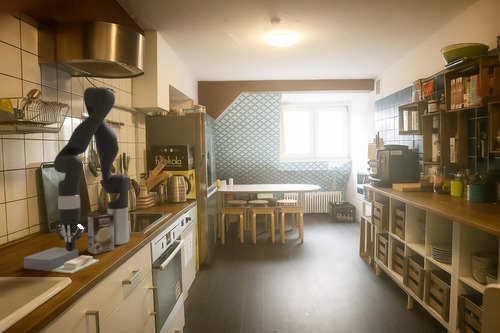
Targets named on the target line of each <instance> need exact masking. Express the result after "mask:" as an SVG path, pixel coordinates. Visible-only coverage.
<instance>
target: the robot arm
mask: <svg viewBox="0 0 500 333" xmlns="http://www.w3.org/2000/svg"><path fill="white" fill-rule="evenodd" d="M83 101H84V105H85V106H84V107H85V109H86V113H87V115H88V117H86V119H84V120H83V121H82V122H80V123H79V124H78V125H77V126H76V128H75V129H73V132H72V134H71V135H70V138H69V139H68V142H67V144H66V145H64V146H63V148H62V149H61V150H60V151H59V152H58V154H57V155H55V158H54V161H53V168H54V170H55V171H56V172H57V173H60V174H65V175H64V178H63V179H62V180H60V181H59V182H58V185H57V188H58V199H57V211H58V212H57V215H58V217H57V218H58V220H59V222H58V223H59V224H58V225H57V226H55V227H54V230H55V231H56V233H57V235H58V237H59V238H60V240H62V241H64V242H65V248H66V249H67V251H69V252H71V251H74V249H76V241H79V240H80V239H81V237H82V235H83V234H84V233H85V231H86V227H84V226H82V225H81V221H80V219H81V216H82V215H81V211H82V210H81V197H80V182H81V179H82V175H83V171H84V163H83V160H82V158H81V157H80V155H81V154H84V153H86V152H87V150H88V147H89V145H90V144H91V141H92V139H93V138H94V143H95V146H96V152H97V154H98V159H99V160H98V161H99V164H100V165H99V166H100V169H101V170H100V171H101V177H102V178H101V179H102V186H103V190H104V191H105V193H106V194H108V195H115V194H116V195H118V198H116V199H114V200H111V201H109V202H108V203H107V214H113V215H114V246H118V245H125V244H128V243H129V241H131V239H130V236H131V235H130V221H129V189H130V188H129V187H130V186H129V184H130V181H129V177H128V175H127V174H112V173H113V172H112V166H113V164H114V162H115V161H116V158H117V156H118V154H119V150H120V149H119V142H118V138H117V135H116V133H115V131H114V130H113V129H112V127H111V126H110V125H109V124H108V122H107V121H106V117H108V115H109V114H110V112H111V111H112V109H113V107H114V105H115V102H116V96H115V93H114V92H113V90H111V89H109V88H105V87H94V86H92V87H91V86H89V87H87V88H86V89H84V92H83Z"/></svg>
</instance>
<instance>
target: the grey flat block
mask: <svg viewBox="0 0 500 333" xmlns="http://www.w3.org/2000/svg"><path fill="white" fill-rule="evenodd" d="M79 256H80V254H79V249H78V248H75V249H74V251H71V252H69V251H67V249H66V247H57V246H56V247H51V248H49V249H45V250H42V251H40V252H37V253H34V254H31V255H27V256H25V257H23V269H27V270H28V269H29V270H35V271H36V270H37V271H38V270H39V271H45V272H52V270H53V269H55V268H58V267H60V266H62V265H64V263H65V262H67V261H70V260H72V259H75V258H77V257H79Z"/></svg>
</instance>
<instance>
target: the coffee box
mask: <svg viewBox="0 0 500 333" xmlns="http://www.w3.org/2000/svg"><path fill="white" fill-rule="evenodd" d="M114 250H115V245H114V215H113V214H108V213H101V214H93V215H88V216H87V252H88V253H91V254H93V255H97V254H100V253H101V254H102V253H105V252H106V253H107V252H109V251H114Z"/></svg>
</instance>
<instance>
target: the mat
mask: <svg viewBox="0 0 500 333" xmlns="http://www.w3.org/2000/svg"><path fill="white" fill-rule="evenodd" d="M99 262H100V260H99V259H94V258H93V261H92V262H90V263H88V264H86V265H84V266H81V267H79V268H77V269H67V268H64V265H62V266H60V267H58V268H55V269H53V270H51V272H52V273H53V272H54V273H64V274H74V273H76V272H78V271H81V270H83V269H85V268H87V267H90V266H91V265H93V264H96V263H99Z"/></svg>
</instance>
